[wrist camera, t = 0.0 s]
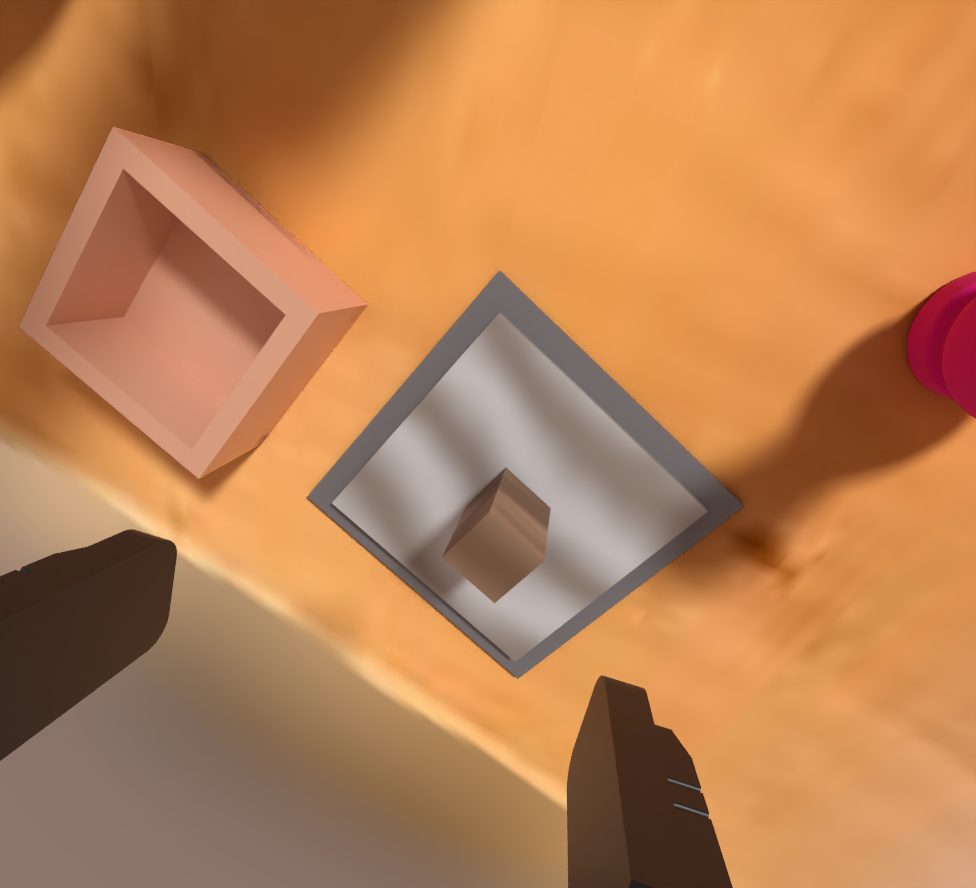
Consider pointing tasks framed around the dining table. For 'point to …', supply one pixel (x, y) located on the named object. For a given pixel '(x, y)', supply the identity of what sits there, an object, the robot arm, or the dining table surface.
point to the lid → (516, 493)
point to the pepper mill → (947, 343)
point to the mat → (598, 387)
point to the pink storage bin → (186, 302)
